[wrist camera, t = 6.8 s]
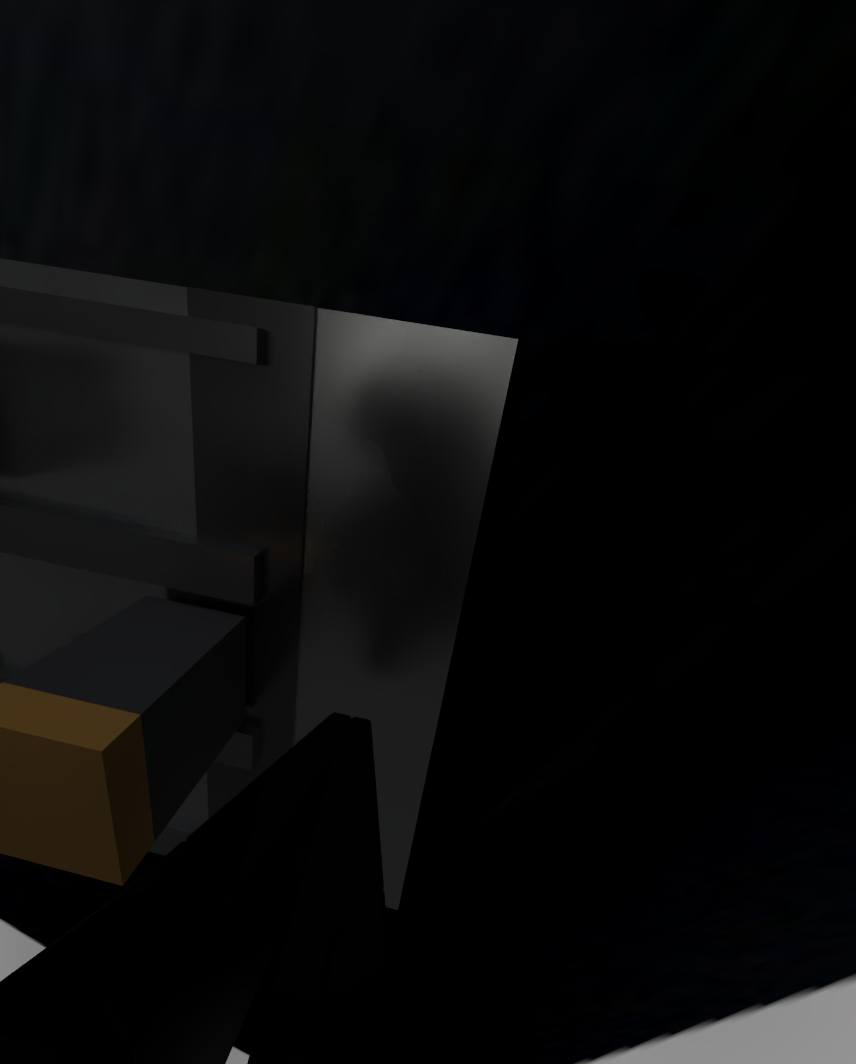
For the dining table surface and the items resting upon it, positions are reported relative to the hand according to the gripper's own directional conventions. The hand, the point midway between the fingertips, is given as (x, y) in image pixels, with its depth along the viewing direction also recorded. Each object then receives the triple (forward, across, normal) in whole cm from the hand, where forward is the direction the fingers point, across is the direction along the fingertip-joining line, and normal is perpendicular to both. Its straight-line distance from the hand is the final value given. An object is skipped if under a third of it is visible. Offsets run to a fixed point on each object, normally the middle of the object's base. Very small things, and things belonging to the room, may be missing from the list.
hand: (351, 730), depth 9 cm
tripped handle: (+1, +4, 0) cm, 4 cm away
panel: (+2, +7, 0) cm, 8 cm away
